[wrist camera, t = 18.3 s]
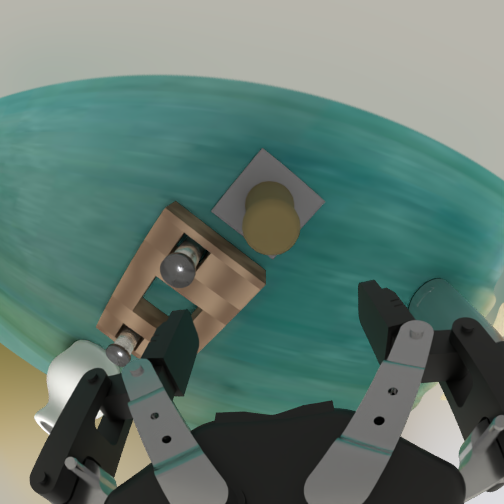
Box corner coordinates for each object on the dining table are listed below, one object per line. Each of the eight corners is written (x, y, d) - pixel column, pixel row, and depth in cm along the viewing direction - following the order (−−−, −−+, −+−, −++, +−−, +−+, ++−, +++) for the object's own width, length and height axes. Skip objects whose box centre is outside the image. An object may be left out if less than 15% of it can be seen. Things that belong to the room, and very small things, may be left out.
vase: (137, 384, 48) (103, 462, 29) (92, 385, 50) (57, 448, 31) (100, 331, 43) (45, 408, 24) (58, 337, 45) (9, 398, 26)
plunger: (214, 243, 35) (201, 270, 28) (198, 264, 36) (182, 294, 29) (191, 225, 34) (171, 247, 27) (175, 247, 35) (153, 273, 28)
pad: (324, 200, 33) (325, 201, 33) (272, 257, 36) (272, 259, 36) (262, 148, 31) (262, 147, 31) (211, 210, 34) (211, 211, 34)
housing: (265, 270, 37) (265, 284, 33) (176, 363, 44) (170, 379, 40) (175, 201, 34) (165, 207, 30) (106, 313, 41) (95, 327, 38)
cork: (294, 228, 34) (306, 264, 24) (245, 229, 34) (237, 266, 24) (294, 180, 32) (308, 195, 22) (243, 181, 32) (233, 197, 22)
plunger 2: (150, 326, 41) (132, 358, 33) (141, 338, 42) (123, 370, 34) (131, 312, 40) (110, 342, 32) (123, 325, 41) (102, 355, 34)
